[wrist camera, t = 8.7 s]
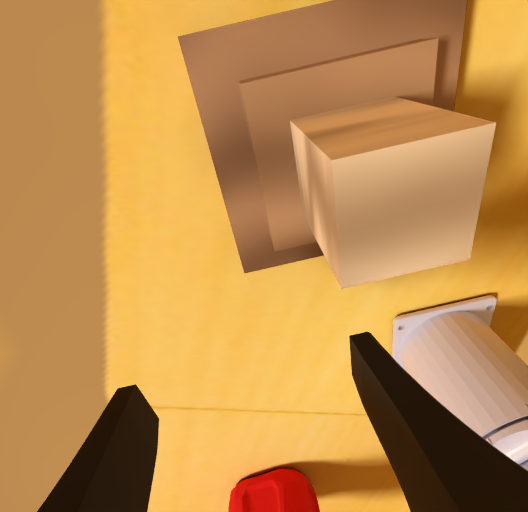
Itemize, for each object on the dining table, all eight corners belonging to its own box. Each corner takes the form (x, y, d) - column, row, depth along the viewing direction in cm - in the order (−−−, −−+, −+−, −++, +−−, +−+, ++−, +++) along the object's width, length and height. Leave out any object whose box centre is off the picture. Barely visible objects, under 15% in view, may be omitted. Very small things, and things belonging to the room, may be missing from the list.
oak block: (391, 194, 16) (470, 259, 11) (303, 214, 16) (341, 288, 11) (393, 96, 14) (496, 122, 9) (289, 120, 14) (331, 160, 9)
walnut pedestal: (425, 217, 21) (454, 241, 18) (243, 259, 21) (246, 288, 18) (448, -25, 14) (499, -41, 12) (181, 38, 14) (173, 35, 12)
